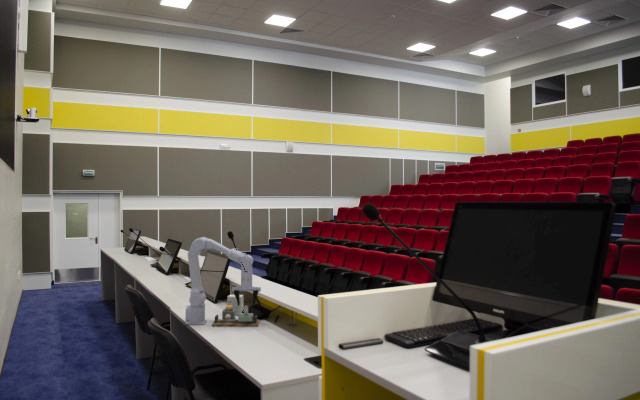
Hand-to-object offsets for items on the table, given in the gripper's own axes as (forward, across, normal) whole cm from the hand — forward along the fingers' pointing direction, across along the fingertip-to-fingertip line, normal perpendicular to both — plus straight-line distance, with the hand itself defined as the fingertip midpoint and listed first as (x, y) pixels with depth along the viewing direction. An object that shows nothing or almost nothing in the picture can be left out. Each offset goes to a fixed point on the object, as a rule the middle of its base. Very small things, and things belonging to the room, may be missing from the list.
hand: (246, 305), depth 235 cm
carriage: (+7, 0, 0) cm, 7 cm away
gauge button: (+4, -10, +9) cm, 14 cm away
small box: (+10, -8, +20) cm, 24 cm away
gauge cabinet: (+10, -10, +9) cm, 17 cm away
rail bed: (+10, -5, 0) cm, 11 cm away
